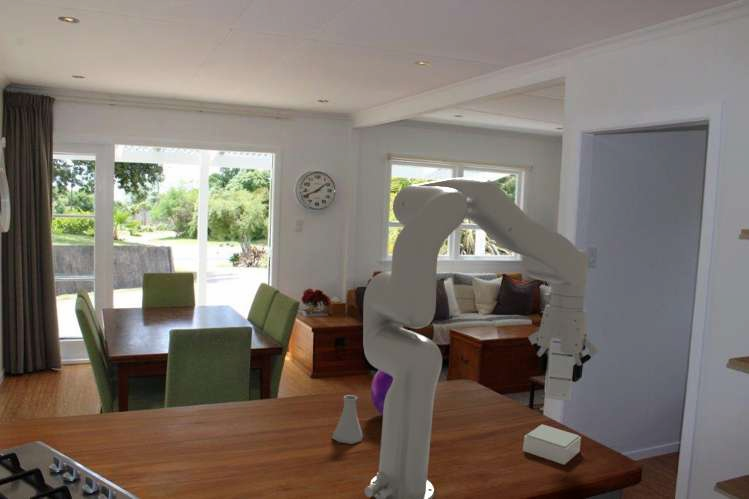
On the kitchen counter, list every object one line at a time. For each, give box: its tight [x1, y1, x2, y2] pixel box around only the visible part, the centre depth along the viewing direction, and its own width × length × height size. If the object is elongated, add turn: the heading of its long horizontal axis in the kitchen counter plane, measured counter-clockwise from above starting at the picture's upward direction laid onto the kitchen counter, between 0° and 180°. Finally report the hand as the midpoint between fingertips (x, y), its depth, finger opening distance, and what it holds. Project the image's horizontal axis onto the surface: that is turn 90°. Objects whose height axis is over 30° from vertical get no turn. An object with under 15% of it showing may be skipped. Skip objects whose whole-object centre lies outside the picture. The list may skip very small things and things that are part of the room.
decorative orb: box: [370, 369, 393, 416], centre depth 157 cm, size 15×15×15 cm
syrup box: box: [544, 337, 576, 402], centre depth 142 cm, size 6×6×14 cm
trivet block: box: [522, 423, 582, 466], centre depth 144 cm, size 10×10×4 cm
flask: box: [331, 394, 364, 445], centre depth 143 cm, size 7×7×10 cm
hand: (559, 375), depth 143 cm, fingers closed on syrup box, 7 cm apart
